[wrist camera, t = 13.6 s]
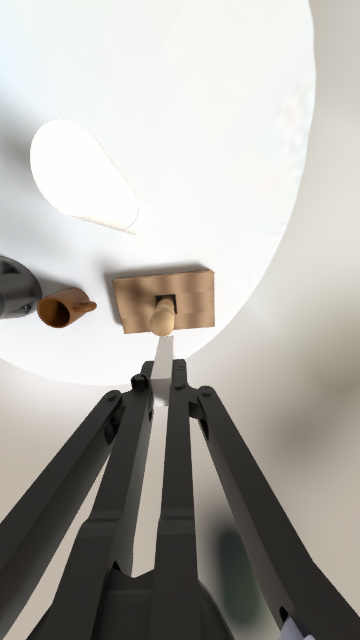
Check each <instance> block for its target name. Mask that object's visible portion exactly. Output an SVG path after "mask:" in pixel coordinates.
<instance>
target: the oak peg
mask: <svg viewBox="0 0 360 640" xmlns="http://www.w3.org/2000/svg"><path fill="white" fill-rule="evenodd" d="M174 318H175V312H174V304H173V298H172V297H171V296H170V295H164V296H163V297H162V298H161V300H160V301H159V303H158V305H157V306H156V308H155V309H154V312H153V314H152V316H151V319H150V322H149V327H150V330H151V331H152V332H153V333H154V334H155V335H158V336H166V335H169V334H170V333H171V332H172V331H173V328H174Z"/></svg>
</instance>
